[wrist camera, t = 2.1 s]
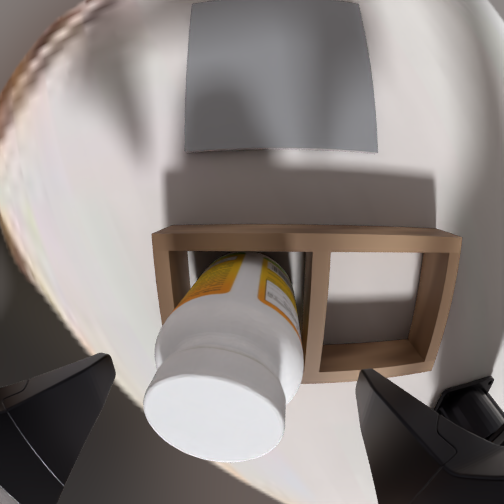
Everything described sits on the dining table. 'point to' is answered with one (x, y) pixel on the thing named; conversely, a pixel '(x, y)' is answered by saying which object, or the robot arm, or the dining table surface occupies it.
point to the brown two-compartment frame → (316, 286)
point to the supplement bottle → (228, 361)
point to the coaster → (279, 77)
